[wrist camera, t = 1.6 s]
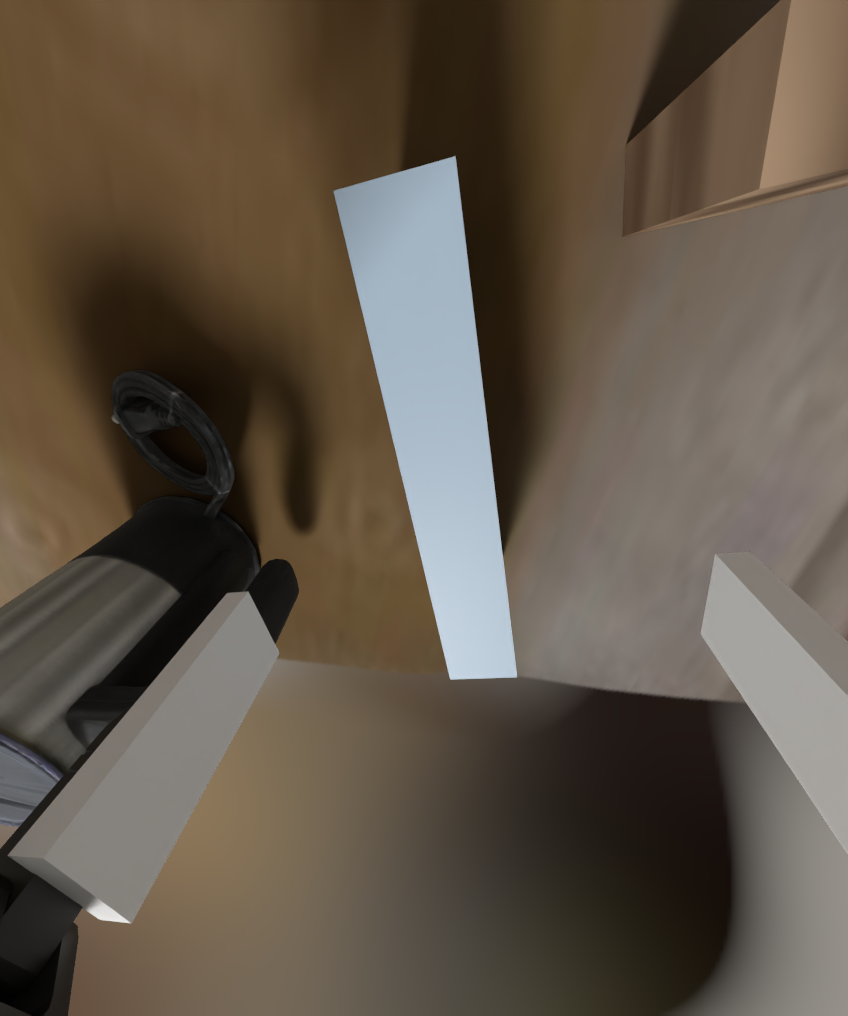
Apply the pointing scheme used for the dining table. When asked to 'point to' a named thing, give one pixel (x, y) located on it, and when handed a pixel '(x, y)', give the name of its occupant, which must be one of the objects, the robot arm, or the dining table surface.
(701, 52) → the dining table surface
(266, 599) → the milk frother
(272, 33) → the dining table surface
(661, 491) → the dining table surface
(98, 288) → the dining table surface
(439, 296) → the pale blue flat block
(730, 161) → the light brown wooden block
